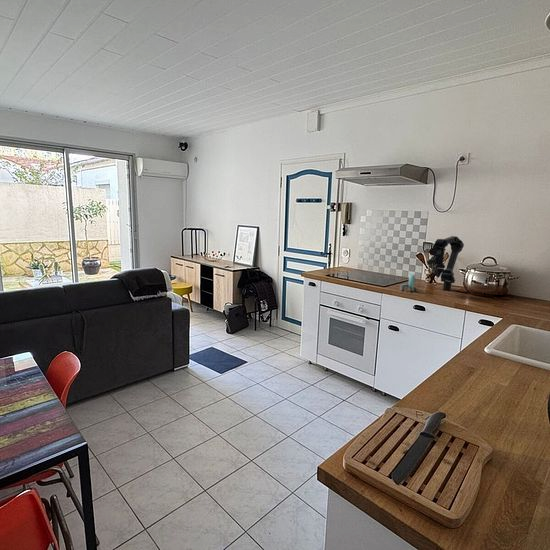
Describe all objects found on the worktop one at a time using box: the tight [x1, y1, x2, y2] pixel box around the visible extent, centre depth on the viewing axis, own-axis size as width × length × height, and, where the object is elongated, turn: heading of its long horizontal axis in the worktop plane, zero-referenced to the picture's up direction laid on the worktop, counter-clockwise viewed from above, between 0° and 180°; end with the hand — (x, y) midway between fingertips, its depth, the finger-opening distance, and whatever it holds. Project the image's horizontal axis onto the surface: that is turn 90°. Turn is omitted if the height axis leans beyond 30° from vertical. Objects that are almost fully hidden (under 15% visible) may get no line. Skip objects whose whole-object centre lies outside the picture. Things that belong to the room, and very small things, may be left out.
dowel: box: [408, 274, 416, 292], centre depth 267 cm, size 4×4×12 cm
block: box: [403, 286, 418, 293], centre depth 269 cm, size 6×9×3 cm, turn 122°
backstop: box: [399, 282, 409, 291], centre depth 272 cm, size 2×10×4 cm, turn 122°
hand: (436, 277), depth 262 cm, fingers open, 9 cm apart
